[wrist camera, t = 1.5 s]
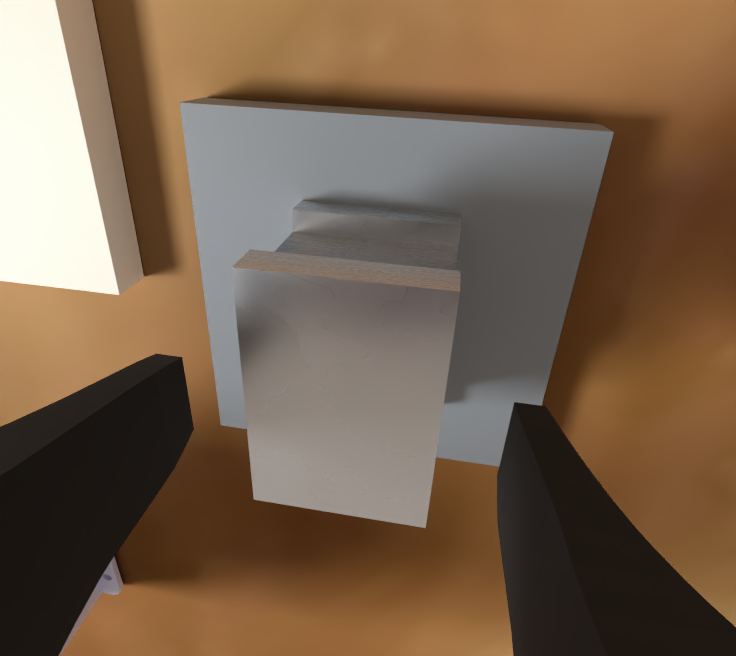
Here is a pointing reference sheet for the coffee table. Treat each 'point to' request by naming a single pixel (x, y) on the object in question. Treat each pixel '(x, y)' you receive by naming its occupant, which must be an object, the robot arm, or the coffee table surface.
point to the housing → (349, 358)
